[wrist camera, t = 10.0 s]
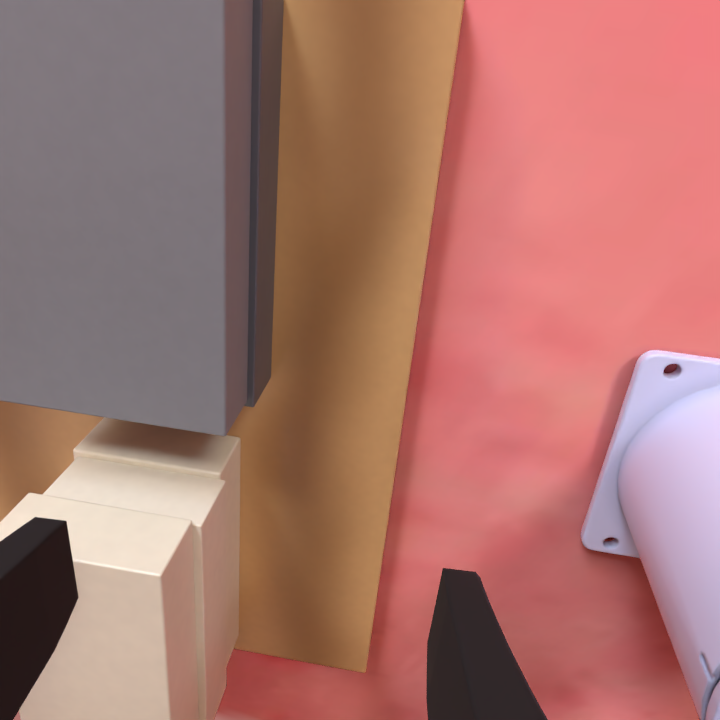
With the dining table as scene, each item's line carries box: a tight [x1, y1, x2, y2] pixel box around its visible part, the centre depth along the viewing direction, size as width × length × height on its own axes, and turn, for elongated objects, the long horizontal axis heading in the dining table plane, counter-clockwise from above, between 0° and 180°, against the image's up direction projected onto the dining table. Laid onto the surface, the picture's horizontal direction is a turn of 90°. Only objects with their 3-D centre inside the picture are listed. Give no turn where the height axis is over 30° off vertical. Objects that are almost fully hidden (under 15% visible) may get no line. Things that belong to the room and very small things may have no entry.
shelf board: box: [0, 0, 465, 673], centre depth 22 cm, size 16×25×1 cm, turn 175°
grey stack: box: [0, 0, 284, 436], centre depth 17 cm, size 7×11×4 cm, turn 175°
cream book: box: [0, 493, 199, 720], centre depth 19 cm, size 5×10×2 cm, turn 175°
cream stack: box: [42, 417, 241, 720], centre depth 22 cm, size 5×10×4 cm, turn 175°
